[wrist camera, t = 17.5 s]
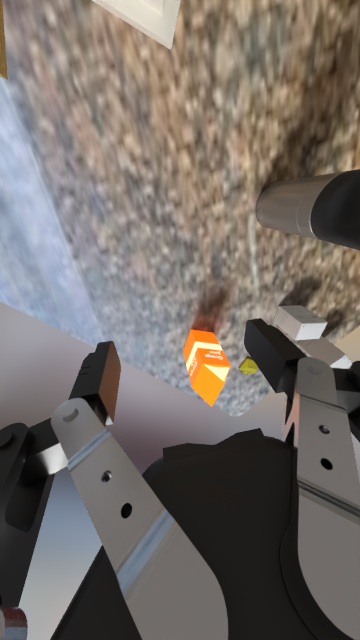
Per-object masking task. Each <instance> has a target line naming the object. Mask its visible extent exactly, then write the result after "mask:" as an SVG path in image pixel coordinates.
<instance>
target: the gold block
mask: <svg viewBox="0 0 360 640" xmlns="http://www.w3.org/2000/svg"><path fill="white" fill-rule="evenodd" d="M0 77H2V78H4V79H6V80H8V78H7V64H6V49H5V34H4V20H3V5H2V0H0Z"/></svg>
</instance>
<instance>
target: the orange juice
mask: <svg viewBox="0 0 360 640" xmlns="http://www.w3.org/2000/svg"><path fill="white" fill-rule="evenodd" d="M183 353H184V357H185V361H186V366H187V370H188V373H189V377H190V381H191V385H192V388H193V389H194V390H195V391H196V392H197V393H198V394H199V395H200V396H201V397H202V398H203V399H204V400H205V401H206V402H207V403H208V404H209V405H210V406H212V405H213V403H214V402H215V400H216V398H217V396H218V394H219V392H220V391H221V389H222V387H223V385H224V383H225V379H226V376H227V373H228V371H229V368H230V364H229V362H228V360H227V358H226V356H225V354H224V353H223V350H222V348H221V346H220V345H219V343H218V341H217V339H216V337H215V335H214V333H211V332H205V331H198V330H191V331H190V334H189V336H188V339H187V342H186V345H185V347H184V350H183Z"/></svg>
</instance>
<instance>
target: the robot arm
mask: <svg viewBox="0 0 360 640" xmlns="http://www.w3.org/2000/svg"><path fill="white" fill-rule="evenodd" d="M256 217H257V219H258V222H259V223H260V224H261V225H262V226H263V227H266V228H270V229H274V230H278V231H283V232H287V233H292V234H296V235H301V236H305V237H310V238H315V239H319V240H323V241H328V242H331V243H334V244H338V245H342V246H346V247H350V248H353V249H357V250H360V169H358V170H352V171H345V172H338V173H332V174H325V175H318V176H311V177H304V178H297V179H290V180H283V181H277V182H274V183H272V184H270V185H269V186H268V187H266V188H265V189H264V191H263V192H262V193H261V195H260V197H259V199H258V202H257V205H256ZM244 344H245V348H246V350H247V351H248V353H249V354H250V356H251V357H252V359H253V360H254V362H255V363H256V365H257V366H258V368H259V369H260V371H261V372H262V374H263V375H264V376H265V378H266V379H267V381H268V382H269V384H270V385H271V387H272V388H273V390H274V391H275V393H280V392H285V393H286V395H287V396H286V401H285V410H284V421H283V429H282V435H281V439H280V440H279V439H276V438H273V437H268V436H264V435H263V433H262V431H261V429H260V428H258V429H254V430H249V431H244V432H239V433H236V434H234V435H233V436H231V437H229V438H227V439H225V440H224V441H221V442H220V443H218V444H216V445H205V444H192V443H186V444H181V445H176V446H172V447H167V448H163V457H161V458H159V459H158V460H157V461H155V462H154V463H153V464H151V466H149V467H148V468H147V470H145V472H144V473H143V474H142V475H141V474H140V473H139V472H138V470H137V469H136V467H135V466H134V465H133V463H132V462H131V461H130V459H129V458H128V457H127V455H126V454H125V452H124V451H123V450H122V448H121V447H120V445H119V444H118V443H117V441H116V440H115V438H114V437H113V436H112V434H111V433H110V432H109V431H108V430H106V429H105V426H106V425H110V424H113V421H114V414H115V407H116V400H117V393H118V386H119V379H120V372H121V366H120V360H119V357H118V354H117V351H116V348H115V345H114V342H113V341H108V342H101V343H98V345H97V348H96V351H95V352H94V353H90V354H89V355H88V356H87V357H86V358H85V359H84V360H83V363H82V366H81V369H80V371H79V373H78V376H77V379H76V381H75V384H74V386H73V389H72V392H71V394H70V397H69V400H68V401H66V402H64V403H63V404H61V405H60V406H59V407H58V408H57V409H56V410H55V412H54V413H53V415H52V417H51V418H49V419H47V420H45V421H43V422H41V423H39V424H36V425H34V426H32V427H30V428H28V427H27V426H26V425H25V424H23V423H14V424H11V425H9V426H7V427H5V428H3V429H1V430H0V640H26V639H27V628H28V626H27V619H26V615H25V613H24V611H23V610H22V609H20V608H18V606H19V602H20V599H21V595H22V591H23V587H24V584H25V580H26V577H27V573H28V570H29V566H30V563H31V559H32V555H33V552H34V548H35V544H36V541H37V537H38V533H39V530H40V526H41V523H42V519H43V516H44V512H45V508H46V505H47V501H48V498H49V494H50V491H51V487H52V483H53V480H54V476H55V473H56V472H57V471H59V470H60V469H62V468H64V467H66V466H68V469H69V471H70V474H71V476H72V478H73V480H74V483H75V484H76V487H77V489H78V491H79V493H80V496H81V498H82V500H83V502H84V505H85V507H86V509H87V511H88V513H89V516H90V518H91V520H92V522H93V524H94V527H95V529H96V531H97V533H98V535H99V538H100V539H101V542H102V544H103V545H102V546H101V548H100V550H99V552H98V554H97V555H96V557H95V559H94V561H93V563H92V565H91V566H90V568H89V570H88V572H87V574H86V575H85V577H84V579H83V581H82V583H81V585H80V586H79V588H78V590H77V592H76V594H75V595H74V597H73V599H72V601H71V603H70V604H69V607H68V608H67V610H66V612H65V614H64V615H63V617H62V619H61V621H60V623H59V624H58V627H57V628H56V630H55V632H54V634H53V635H52V637H51V639H50V640H360V483H359V477H358V471H357V466H356V460H355V454H354V449H353V443H352V438H351V432H352V434H353V435H354V436H355V437H356V438H357V440H358V441H359V442H360V361H356V362H353V363H352V365H351V367H350V369H343V368H331V367H330V366H329V365H328V364H327V363H325V362H324V361H322V360H319V359H317V358H312V357H307V356H306V355H305V354H304V353H303V352H302V351H301V350H300V349H299V348H298V347H297V346H296V345H295V344H293V343H292V342H291V341H289V339H288V338H287V337H286V336H284V334H283V333H282V332H281V331H280V330H279V329H277V328H275V327H273V326H271V325H267V324H266V323H265V322H264V321H263V320H262V319H261V318H259V319H252V320H248V321H247V323H246V330H245V338H244ZM350 431H351V432H350Z"/></svg>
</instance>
